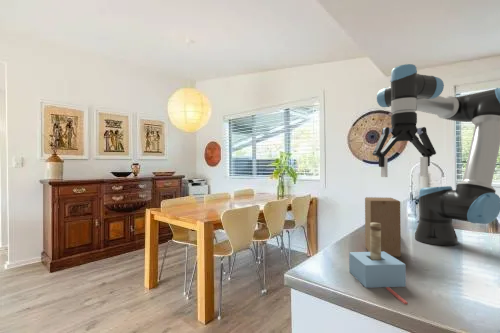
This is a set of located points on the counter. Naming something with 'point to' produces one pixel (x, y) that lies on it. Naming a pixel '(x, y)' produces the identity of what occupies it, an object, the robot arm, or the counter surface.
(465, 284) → the counter surface
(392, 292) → the thin red rod
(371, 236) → the tan brown rod
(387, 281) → the blue block with hole
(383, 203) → the wooden block
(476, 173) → the robot arm
